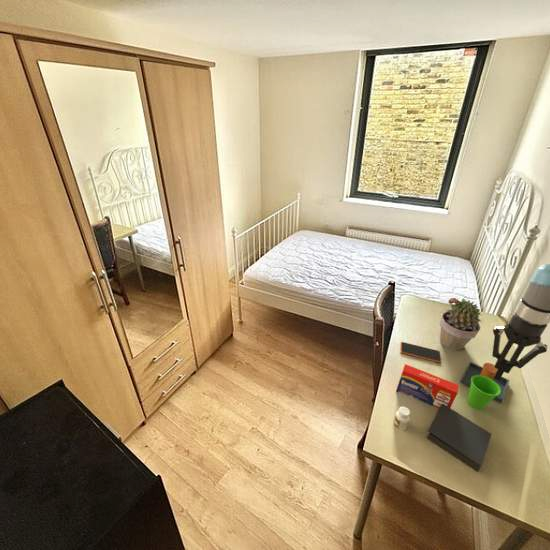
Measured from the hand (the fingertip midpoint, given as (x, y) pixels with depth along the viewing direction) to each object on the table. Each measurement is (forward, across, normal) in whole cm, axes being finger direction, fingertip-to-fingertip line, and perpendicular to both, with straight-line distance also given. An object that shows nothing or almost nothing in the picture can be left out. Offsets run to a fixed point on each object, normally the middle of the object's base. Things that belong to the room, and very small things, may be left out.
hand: (497, 376), depth 92 cm
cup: (+23, +1, -8) cm, 24 cm away
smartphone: (+22, +26, -21) cm, 40 cm away
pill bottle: (+23, +18, +20) cm, 35 cm away
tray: (+22, +1, -22) cm, 31 cm away
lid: (+19, +2, +12) cm, 22 cm away
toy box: (+23, +16, +4) cm, 28 cm away
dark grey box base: (+22, +2, +12) cm, 25 cm away
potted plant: (+23, +17, -39) cm, 48 cm away
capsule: (+22, +1, -22) cm, 31 cm away
